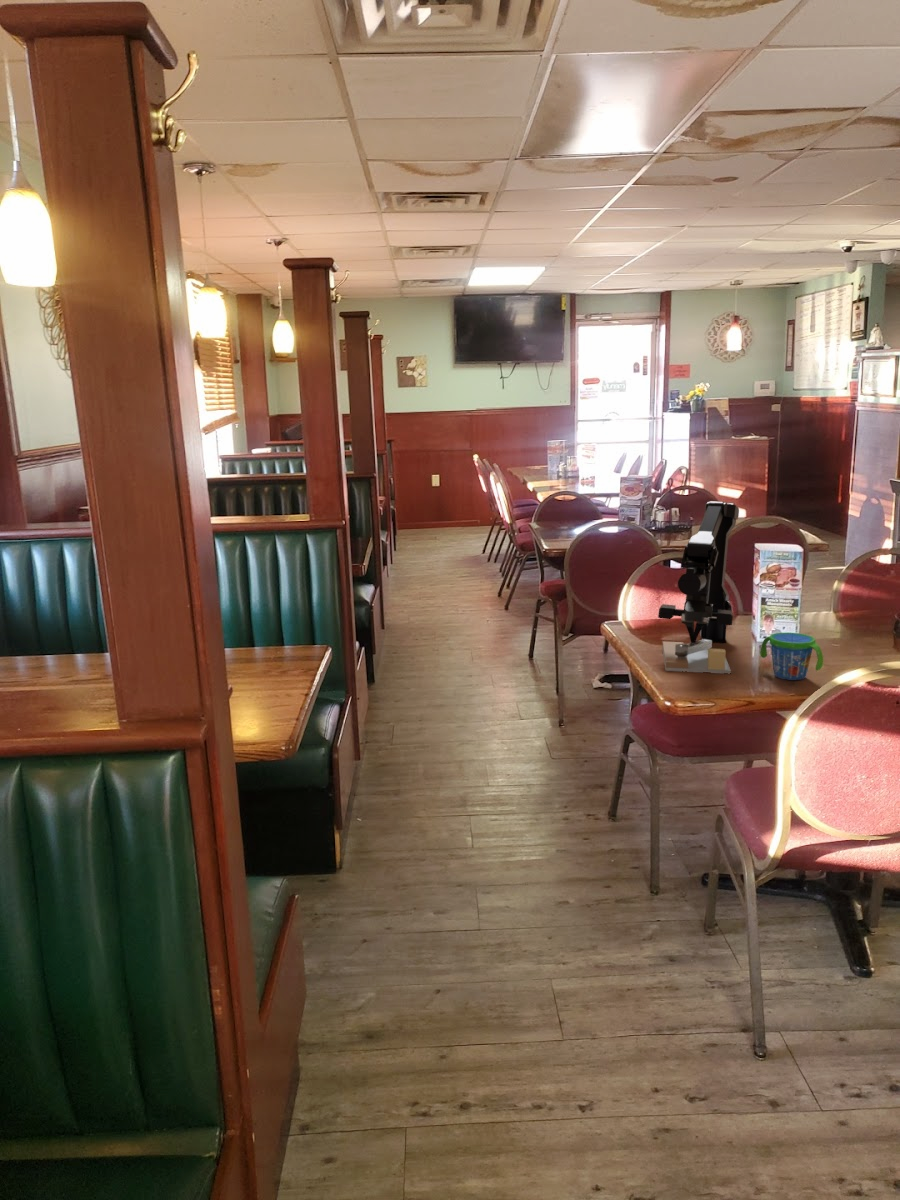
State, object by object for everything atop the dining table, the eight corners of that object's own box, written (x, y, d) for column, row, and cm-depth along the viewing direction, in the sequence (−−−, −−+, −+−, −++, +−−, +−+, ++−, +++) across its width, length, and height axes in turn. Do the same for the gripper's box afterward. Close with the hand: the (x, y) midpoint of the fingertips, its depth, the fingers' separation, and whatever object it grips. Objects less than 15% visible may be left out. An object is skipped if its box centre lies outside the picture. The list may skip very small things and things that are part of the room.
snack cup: (749, 672, 215) (752, 633, 213) (776, 665, 221) (779, 627, 218) (803, 688, 202) (806, 647, 200) (830, 681, 208) (834, 641, 205)
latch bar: (682, 657, 217) (683, 647, 217) (672, 654, 220) (672, 645, 219) (713, 648, 225) (713, 639, 225) (703, 645, 228) (703, 636, 227)
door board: (722, 651, 233) (723, 632, 232) (730, 673, 214) (732, 652, 213) (662, 649, 236) (663, 630, 235) (665, 670, 217) (666, 649, 216)
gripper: (658, 591, 218) (653, 649, 222) (734, 597, 212) (728, 657, 216) (662, 583, 229) (658, 639, 232) (735, 589, 223) (729, 646, 226)
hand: (692, 645), depth 226 cm, fingers closed
